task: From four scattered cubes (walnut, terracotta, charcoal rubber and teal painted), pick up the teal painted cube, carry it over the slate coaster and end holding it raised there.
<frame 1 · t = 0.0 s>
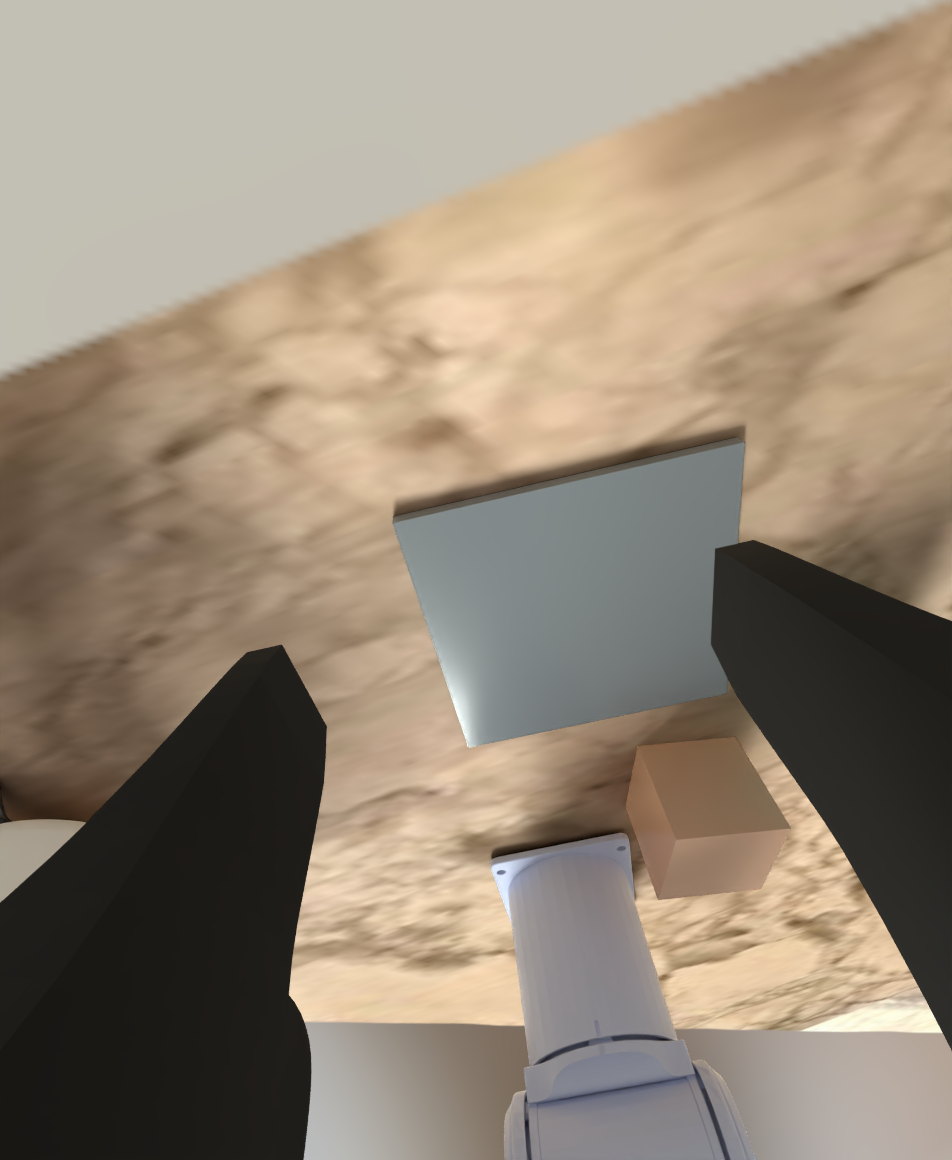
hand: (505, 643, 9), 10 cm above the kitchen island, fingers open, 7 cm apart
slate coaster: (580, 613, 22), on the kitchen island
coffee press: (124, 847, 28), on the kitchen island
terracotta block: (677, 771, 28), on the kitchen island
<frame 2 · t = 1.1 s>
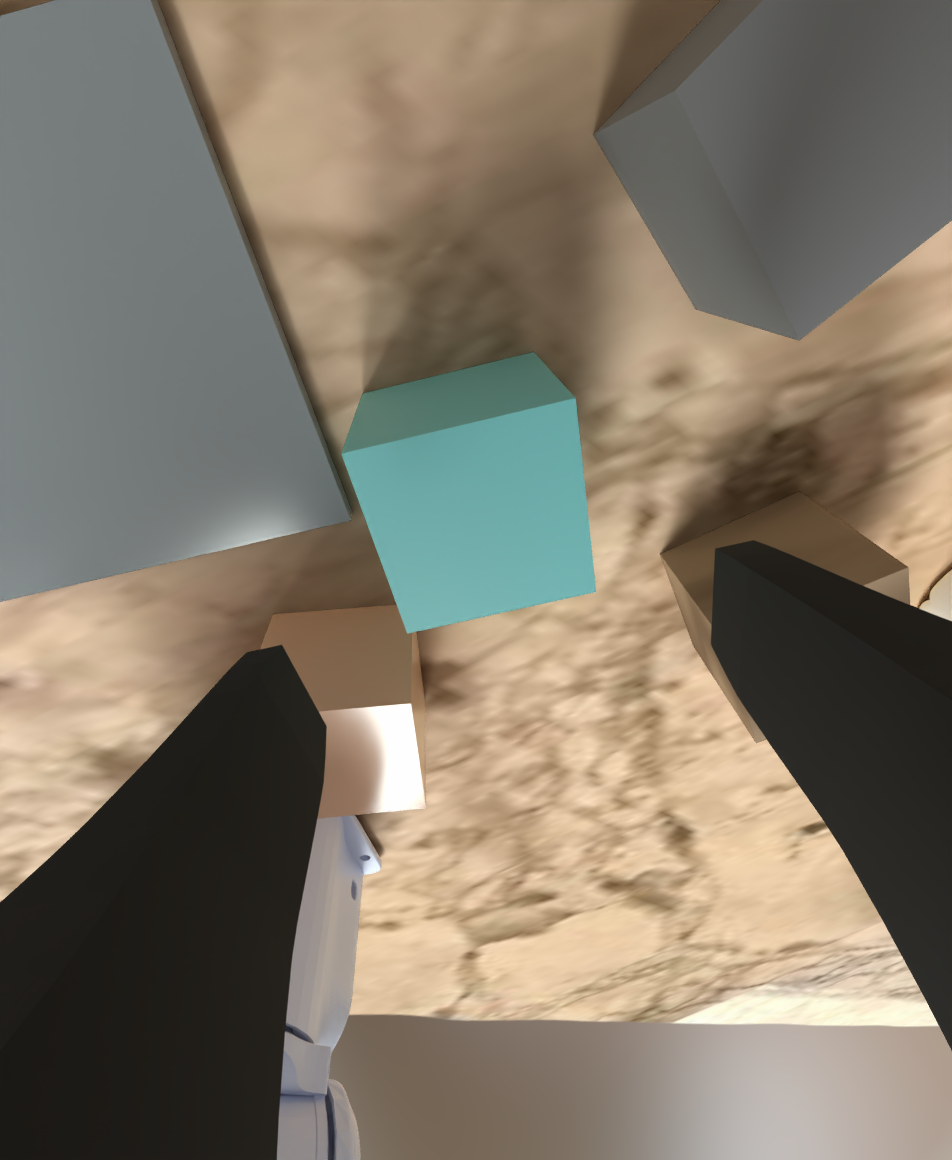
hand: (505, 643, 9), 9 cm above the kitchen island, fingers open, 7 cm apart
teal block: (466, 454, 17), on the kitchen island
slate coaster: (59, 366, 14), on the kitchen island
charcoal block: (734, 146, 13), on the kitchen island
terracotta block: (354, 659, 21), on the kitchen island
walnut block: (740, 574, 20), on the kitchen island
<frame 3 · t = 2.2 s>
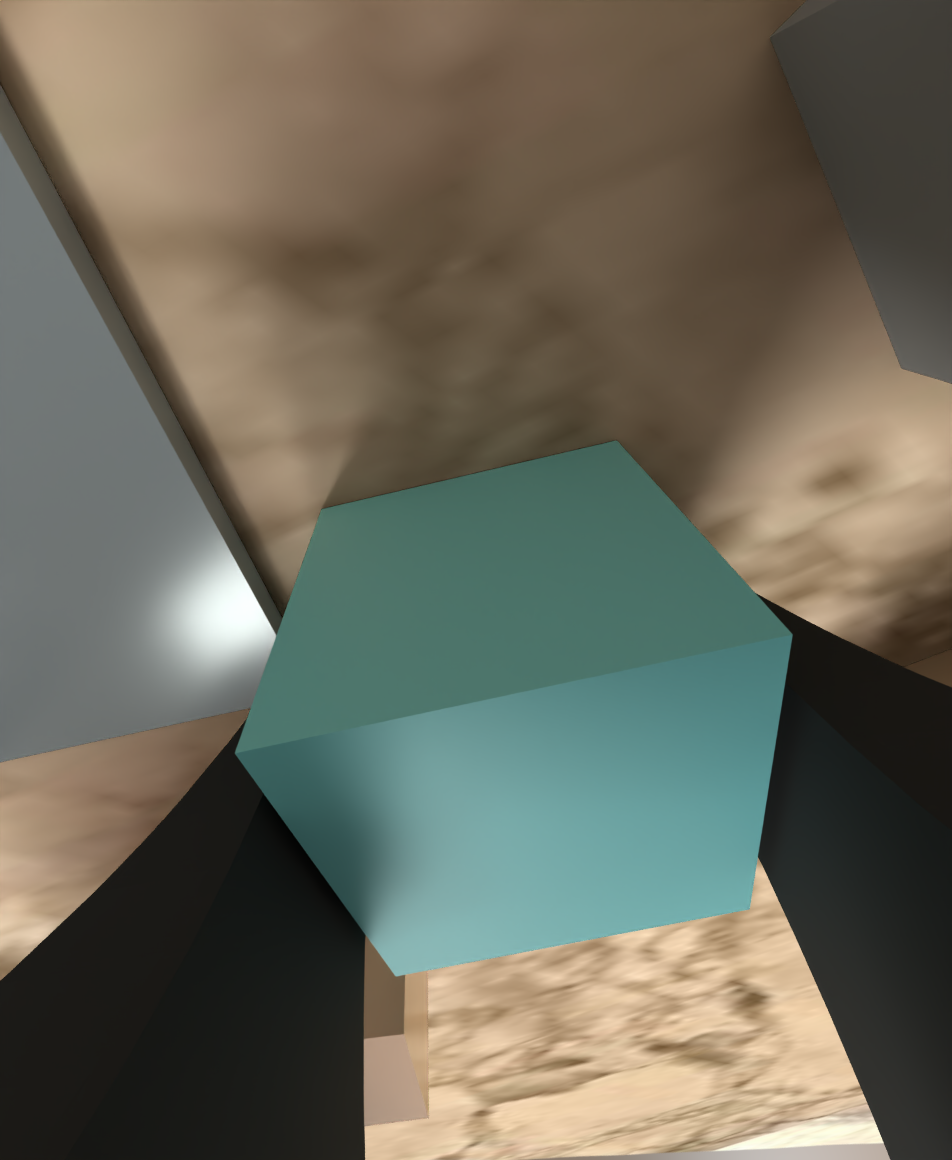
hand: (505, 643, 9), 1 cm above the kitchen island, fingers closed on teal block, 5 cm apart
teal block: (495, 595, 10), on the kitchen island, touching gripper
terracotta block: (326, 847, 14), on the kitchen island
walnut block: (888, 733, 14), on the kitchen island
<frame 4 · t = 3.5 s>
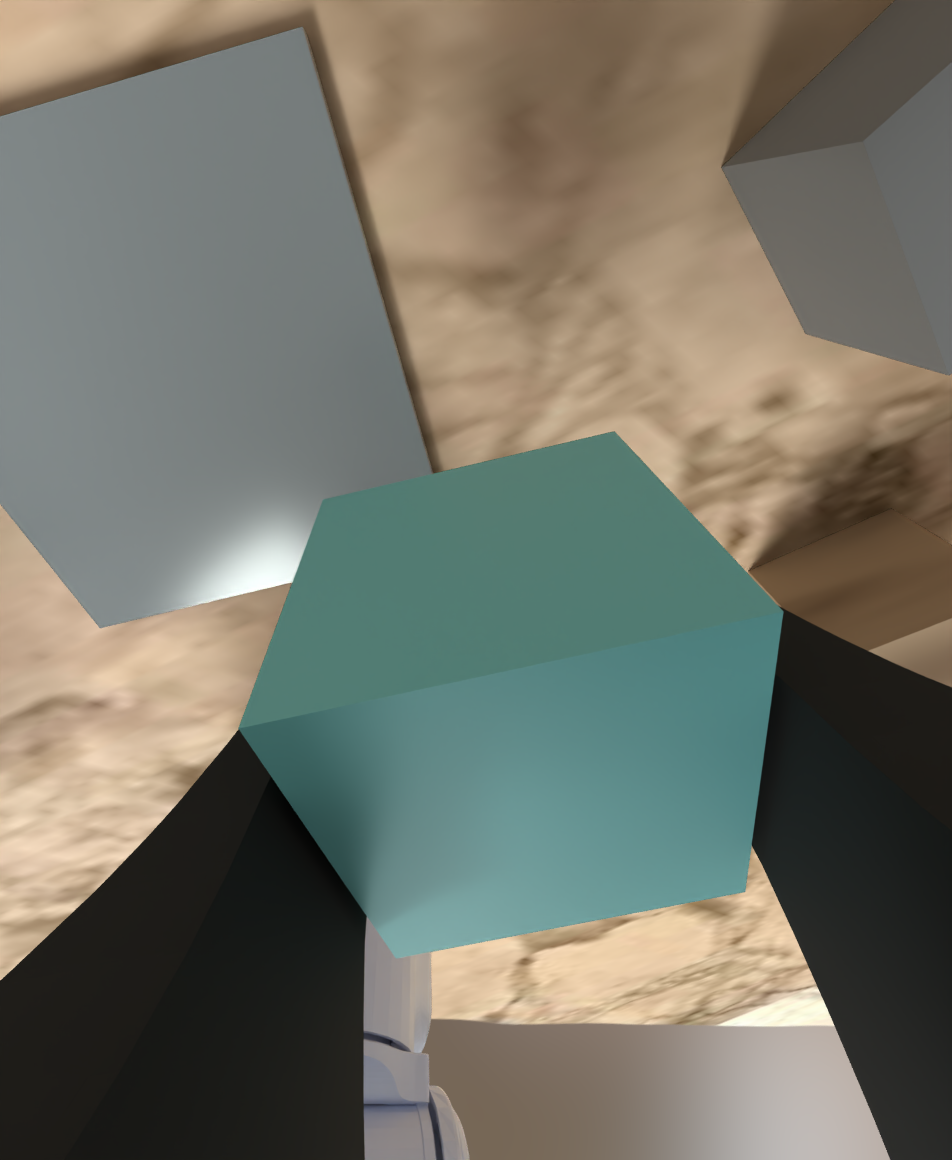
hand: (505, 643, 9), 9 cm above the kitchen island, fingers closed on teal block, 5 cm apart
teal block: (494, 585, 10), point 7 cm above the kitchen island, touching gripper
slate coaster: (182, 399, 15), on the kitchen island
charcoal block: (858, 176, 13), on the kitchen island
walnut block: (825, 589, 20), on the kitchen island
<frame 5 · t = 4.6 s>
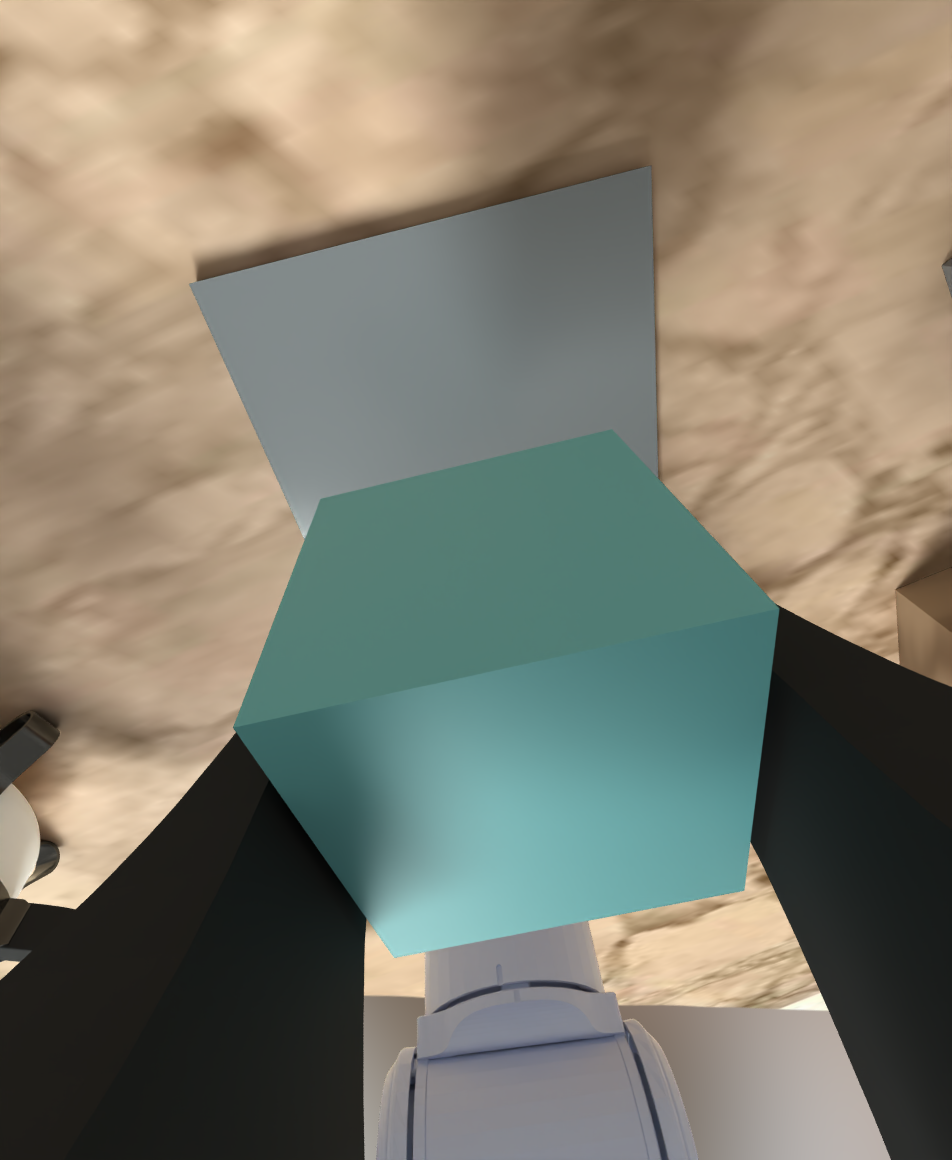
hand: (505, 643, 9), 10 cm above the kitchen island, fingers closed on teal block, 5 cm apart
teal block: (493, 584, 10), point 8 cm above the kitchen island, touching gripper
slate coaster: (465, 444, 17), on the kitchen island
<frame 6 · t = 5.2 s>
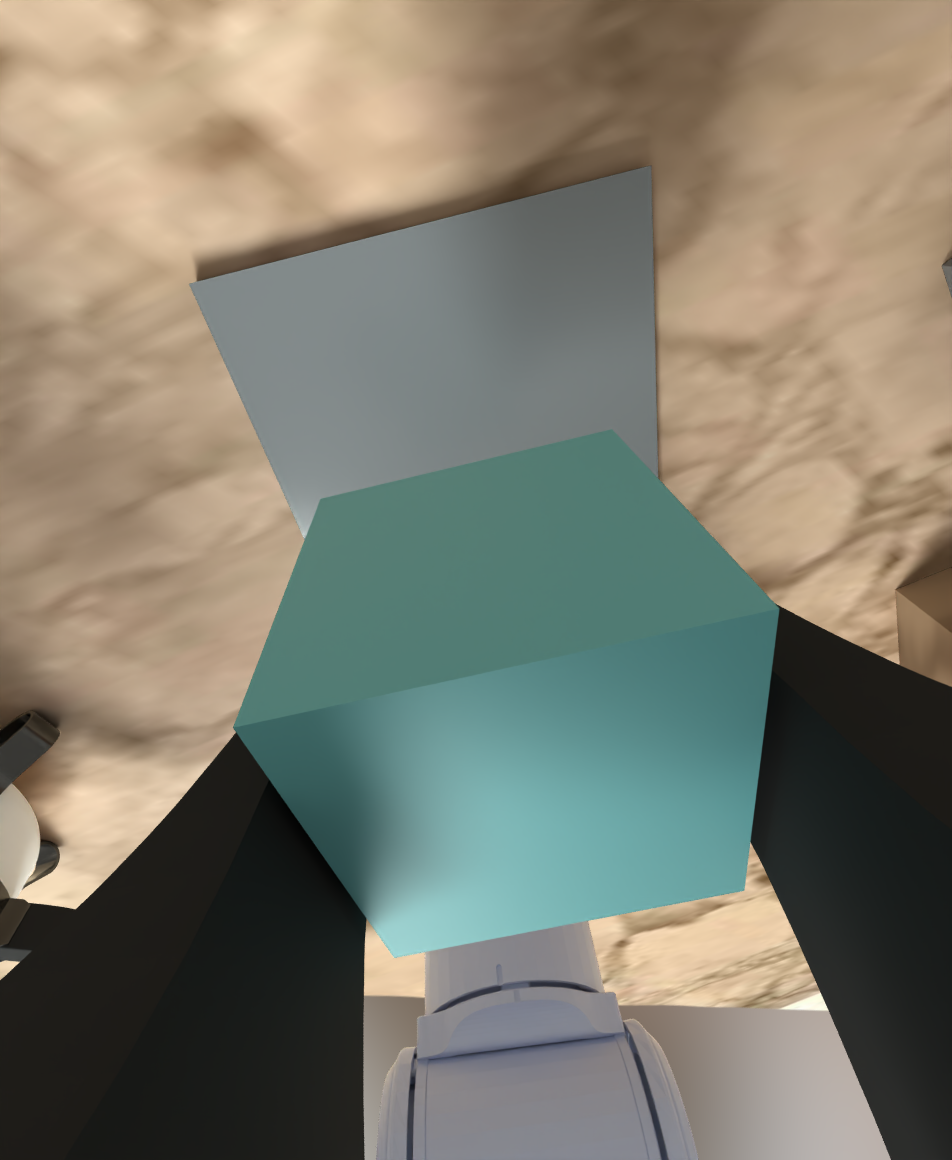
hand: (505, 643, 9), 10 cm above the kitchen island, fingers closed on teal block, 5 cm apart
teal block: (493, 584, 10), point 8 cm above the kitchen island, touching gripper
slate coaster: (465, 444, 17), on the kitchen island
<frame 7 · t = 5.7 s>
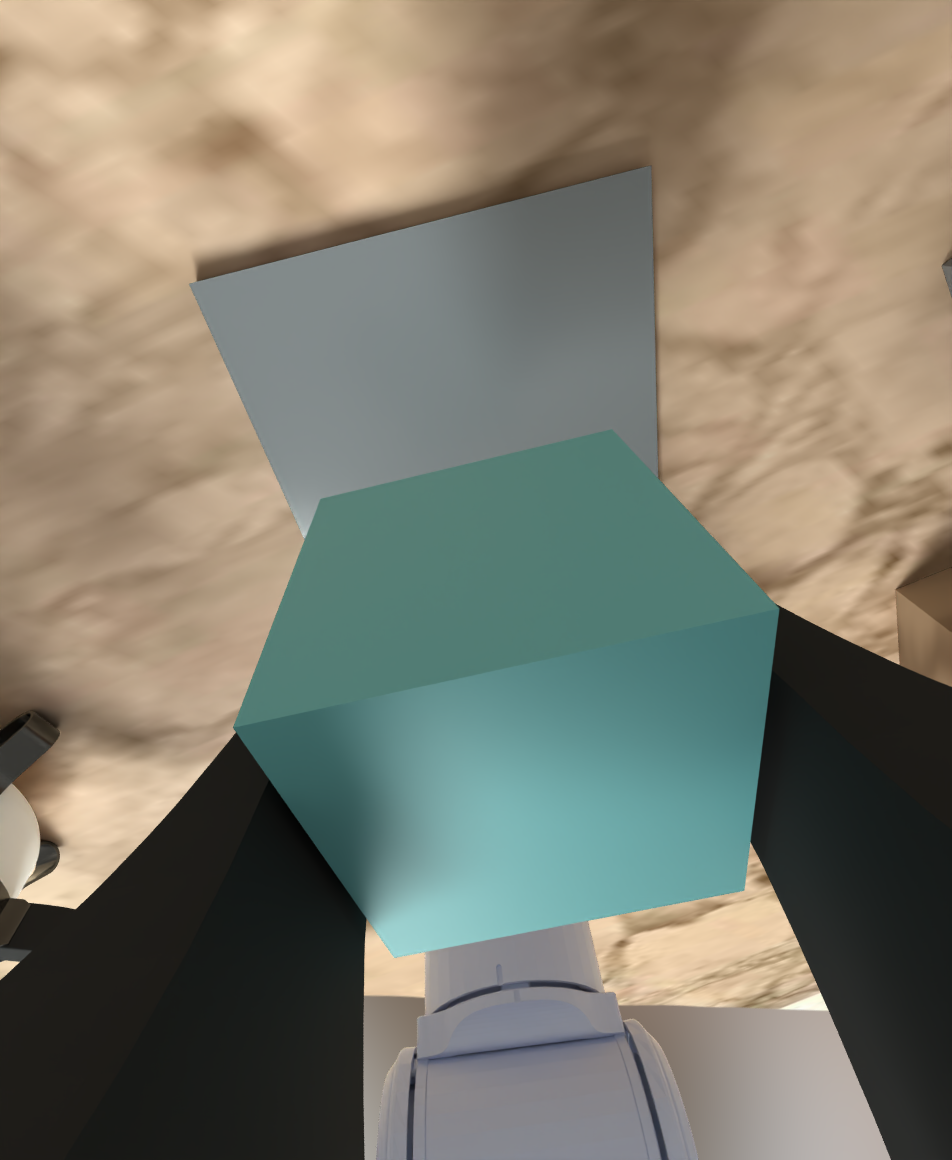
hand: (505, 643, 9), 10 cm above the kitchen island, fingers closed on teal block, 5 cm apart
teal block: (493, 584, 10), point 8 cm above the kitchen island, touching gripper
slate coaster: (465, 444, 17), on the kitchen island
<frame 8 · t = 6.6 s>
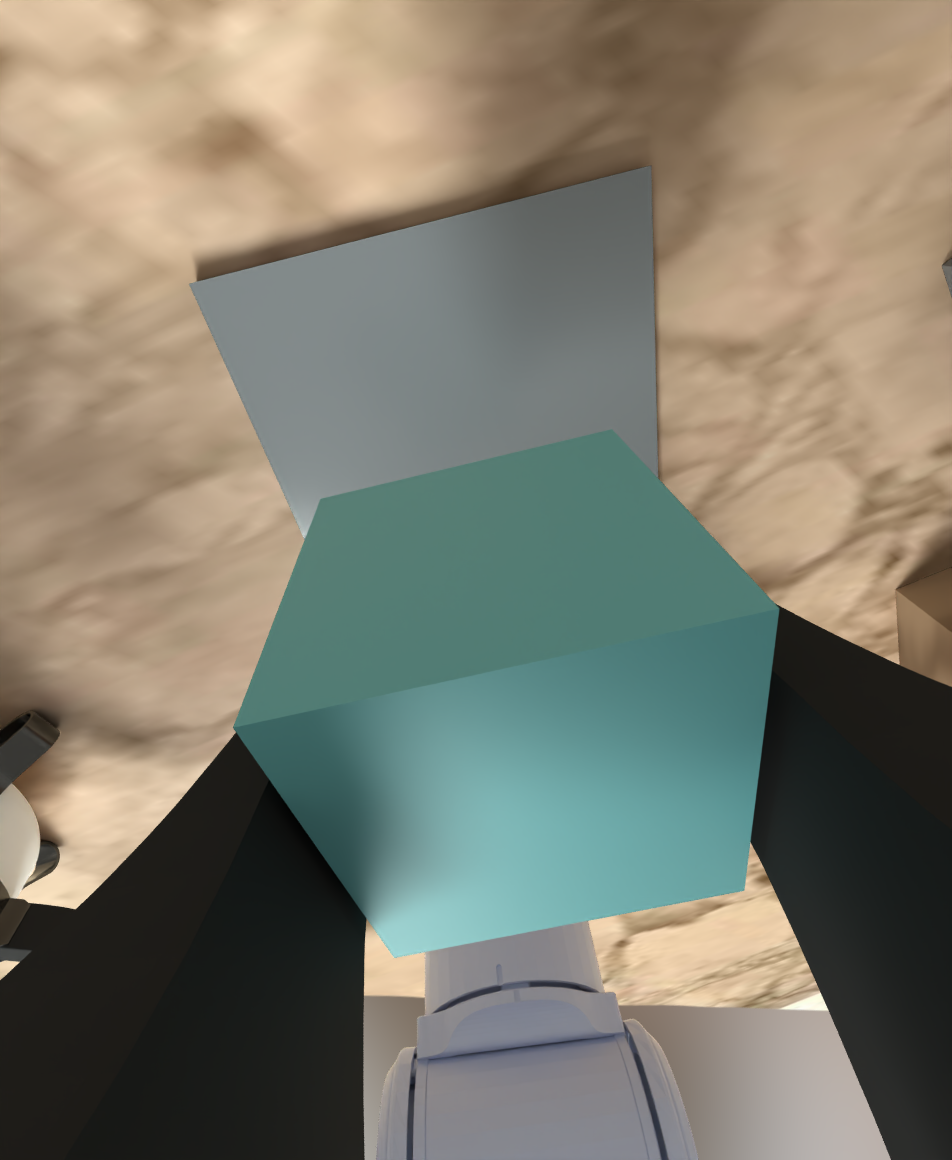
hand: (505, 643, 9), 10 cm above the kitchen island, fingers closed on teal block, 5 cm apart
teal block: (493, 584, 10), point 8 cm above the kitchen island, touching gripper
slate coaster: (465, 444, 17), on the kitchen island
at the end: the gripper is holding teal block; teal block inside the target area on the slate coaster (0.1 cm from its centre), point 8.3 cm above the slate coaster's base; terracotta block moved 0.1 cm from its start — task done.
